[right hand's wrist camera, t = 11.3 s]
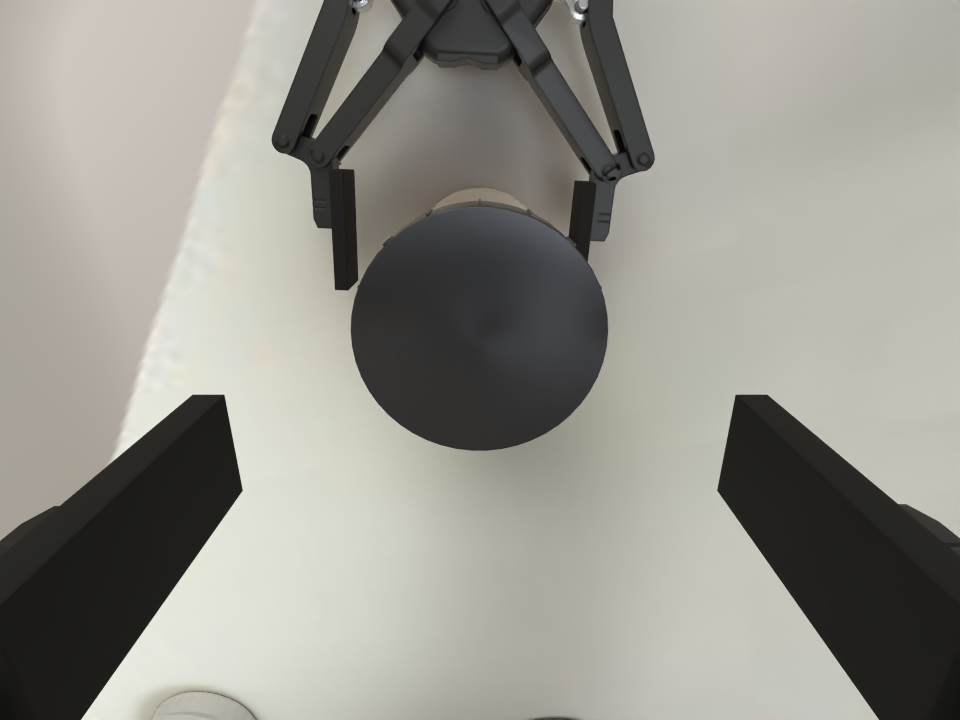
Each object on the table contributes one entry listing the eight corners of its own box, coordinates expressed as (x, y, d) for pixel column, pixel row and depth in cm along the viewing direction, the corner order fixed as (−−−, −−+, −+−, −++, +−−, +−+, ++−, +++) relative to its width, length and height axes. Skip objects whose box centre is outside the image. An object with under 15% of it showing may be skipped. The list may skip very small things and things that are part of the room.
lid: (396, 440, 25) (387, 468, 23) (334, 227, 21) (317, 236, 19) (607, 403, 24) (620, 429, 22) (579, 177, 21) (592, 180, 18)
